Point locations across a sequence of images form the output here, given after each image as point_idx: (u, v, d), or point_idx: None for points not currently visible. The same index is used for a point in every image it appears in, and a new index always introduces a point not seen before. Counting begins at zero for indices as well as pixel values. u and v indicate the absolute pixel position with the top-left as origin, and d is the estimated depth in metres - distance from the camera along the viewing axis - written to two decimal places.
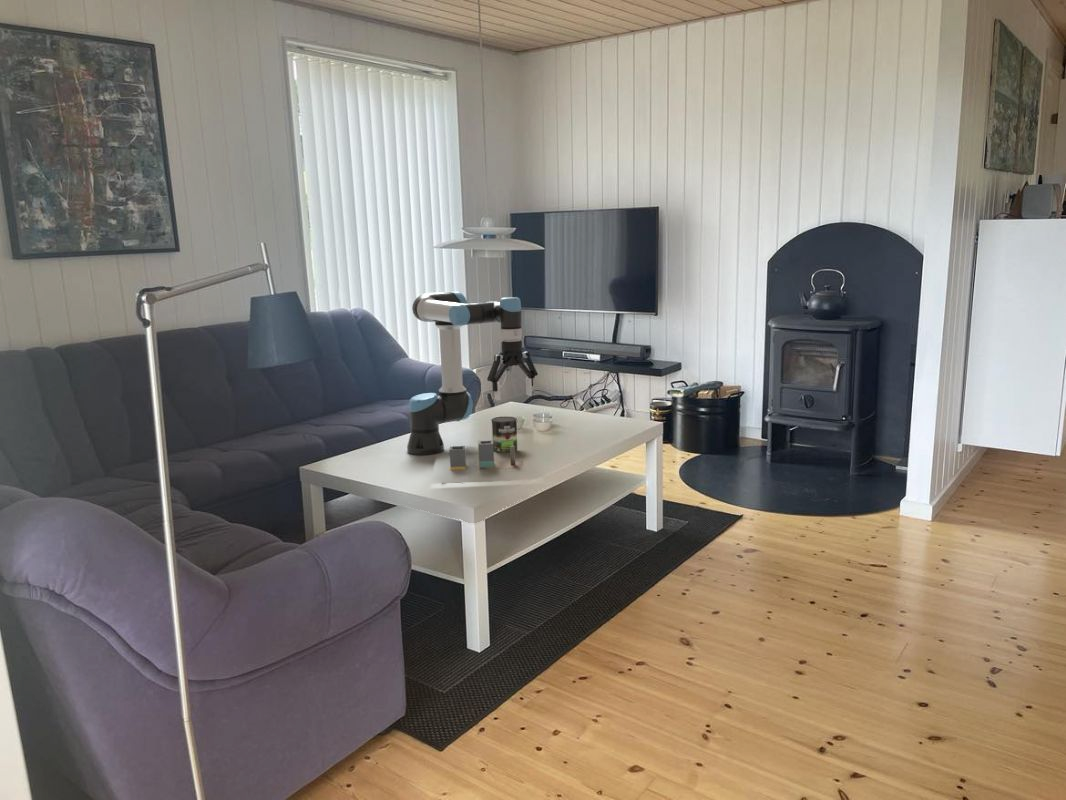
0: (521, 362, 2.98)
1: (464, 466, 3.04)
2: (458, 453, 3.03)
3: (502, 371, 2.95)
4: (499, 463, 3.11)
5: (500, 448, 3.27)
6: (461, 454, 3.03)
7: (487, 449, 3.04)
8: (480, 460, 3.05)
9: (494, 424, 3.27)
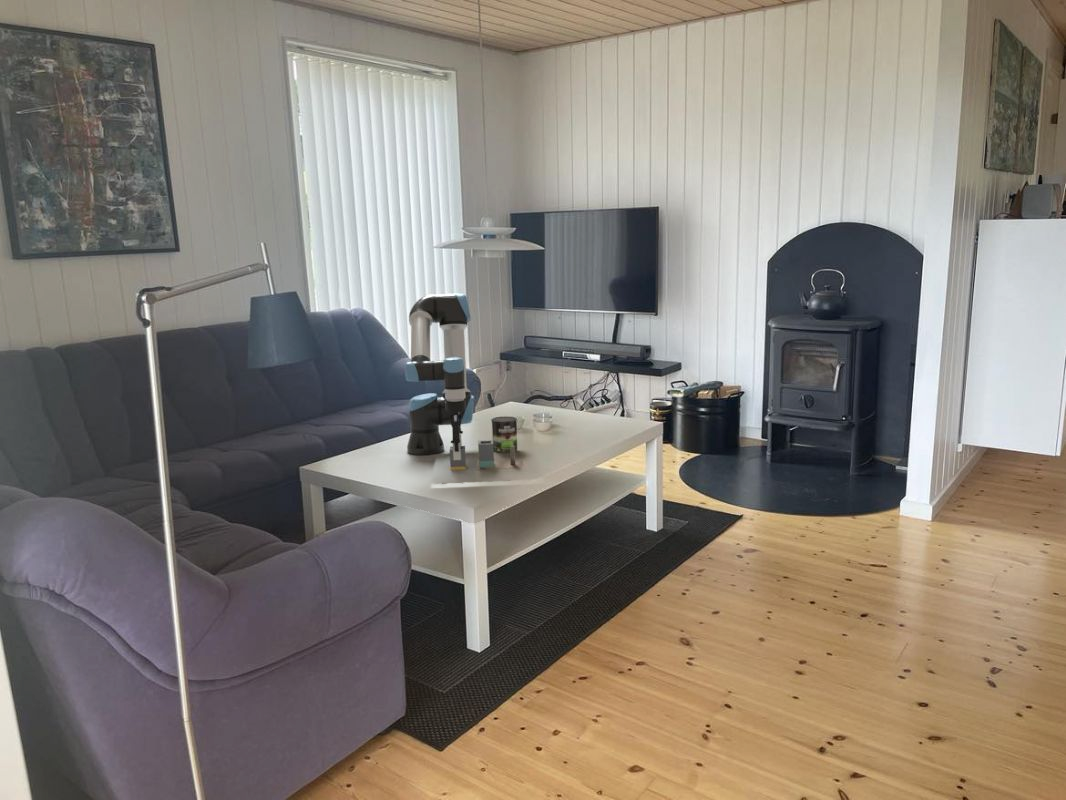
0: (451, 423, 3.00)
1: (464, 466, 3.04)
2: None
3: None
4: (499, 463, 3.11)
5: (500, 448, 3.27)
6: (461, 454, 3.03)
7: (487, 449, 3.04)
8: (480, 460, 3.05)
9: (494, 424, 3.27)
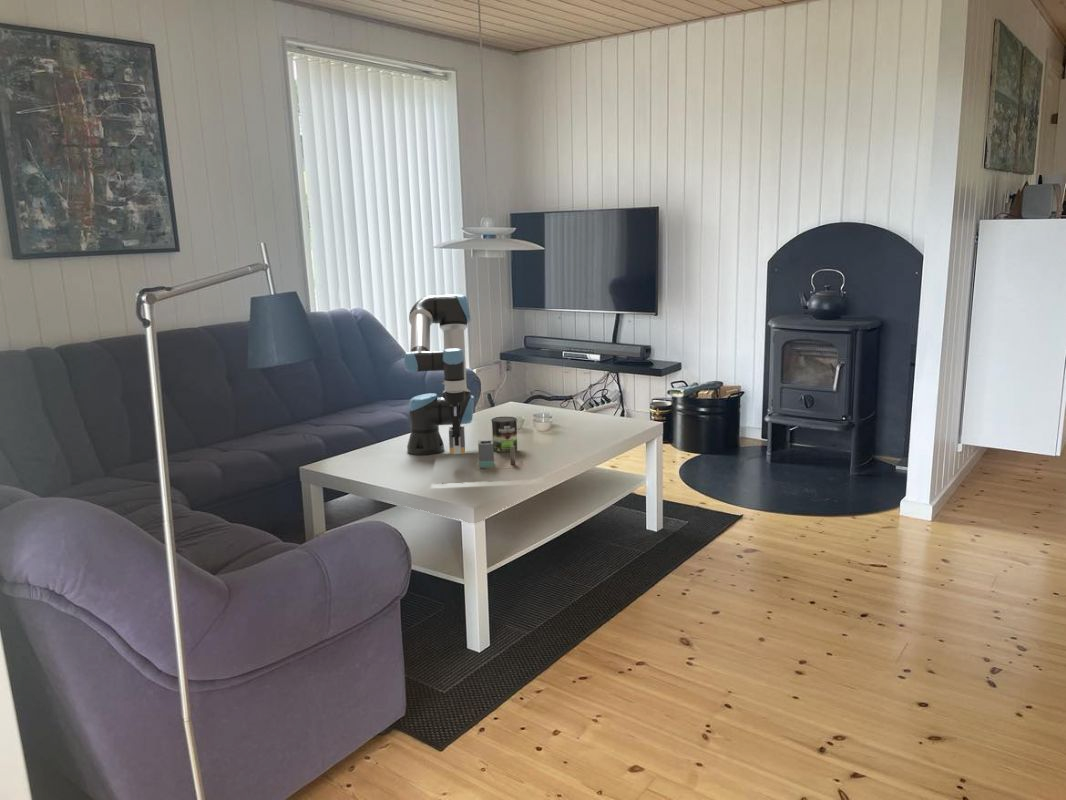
0: (451, 415, 3.01)
1: (463, 447, 3.03)
2: None
3: None
4: (499, 463, 3.11)
5: (500, 448, 3.27)
6: (460, 435, 3.02)
7: (487, 449, 3.04)
8: (480, 460, 3.05)
9: (494, 424, 3.27)
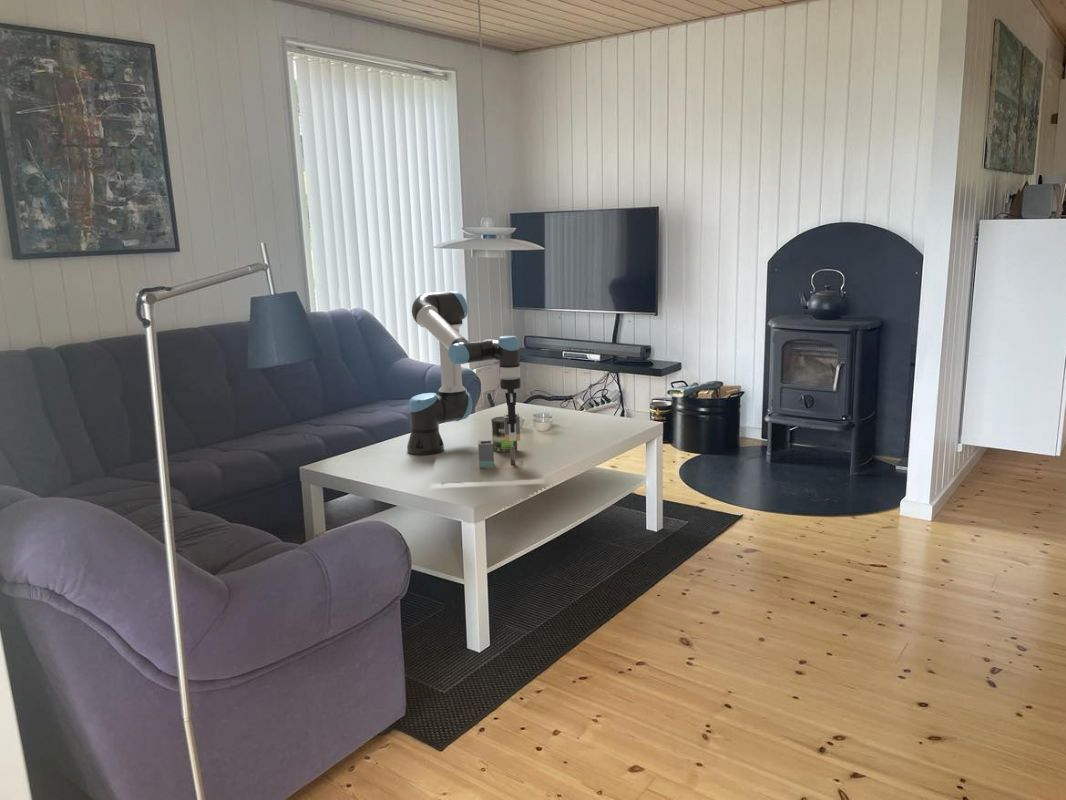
0: (506, 402, 3.02)
1: (519, 434, 3.04)
2: None
3: None
4: (499, 463, 3.11)
5: (500, 448, 3.27)
6: None
7: (487, 449, 3.04)
8: (480, 460, 3.05)
9: (494, 424, 3.27)
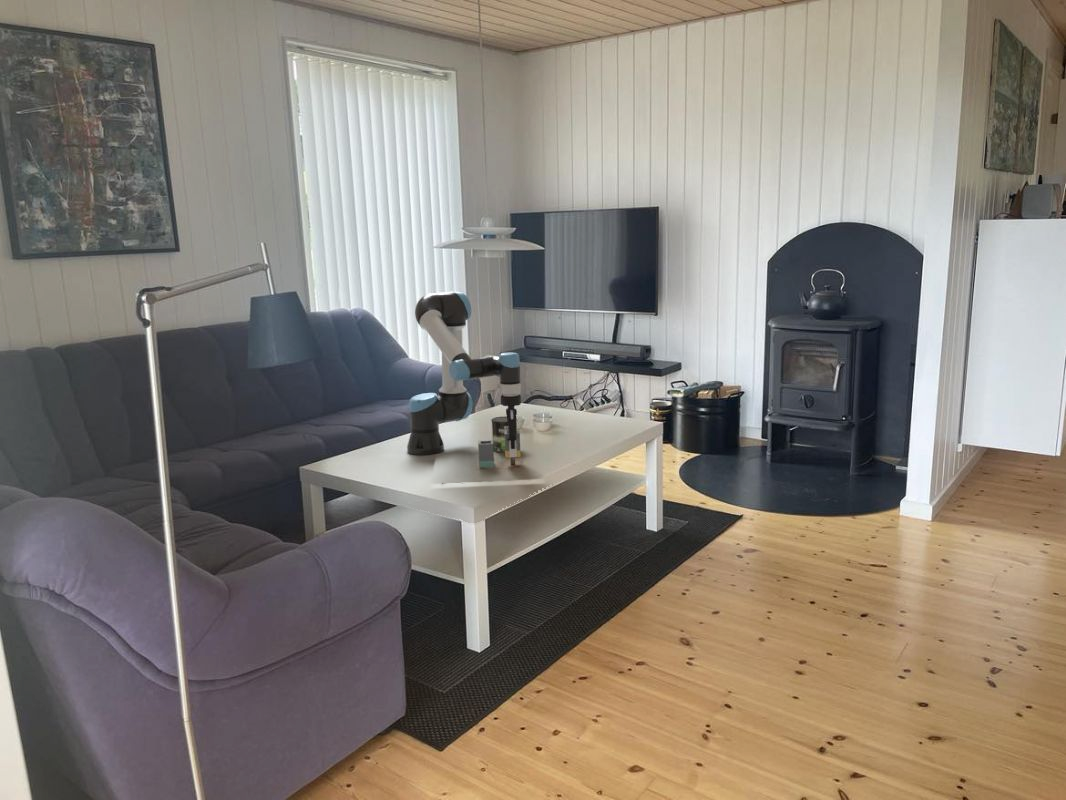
0: (507, 418, 3.03)
1: (519, 450, 3.05)
2: None
3: (508, 424, 3.09)
4: (499, 463, 3.11)
5: (500, 448, 3.27)
6: None
7: (487, 449, 3.04)
8: (480, 460, 3.05)
9: (494, 424, 3.27)
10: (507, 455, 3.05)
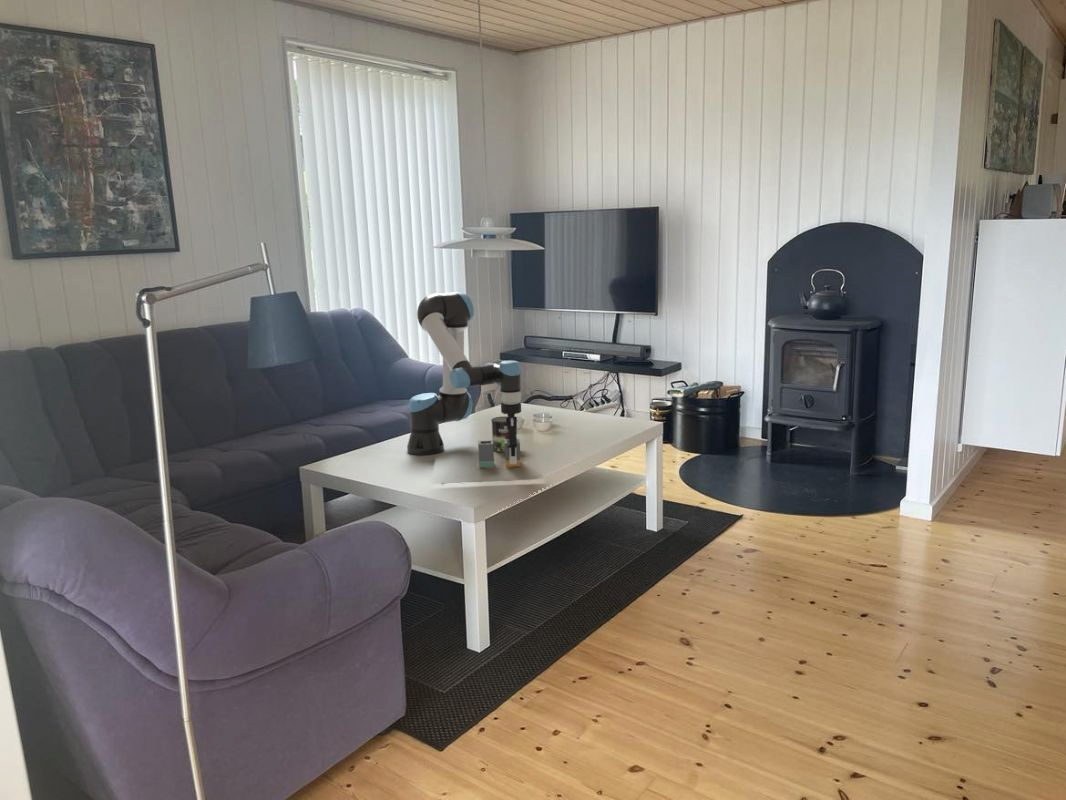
0: (507, 426, 3.04)
1: (519, 459, 3.06)
2: None
3: (508, 430, 3.10)
4: (499, 463, 3.11)
5: (500, 448, 3.27)
6: (516, 448, 3.05)
7: (487, 449, 3.04)
8: (480, 460, 3.05)
9: (494, 424, 3.27)
10: (507, 464, 3.06)
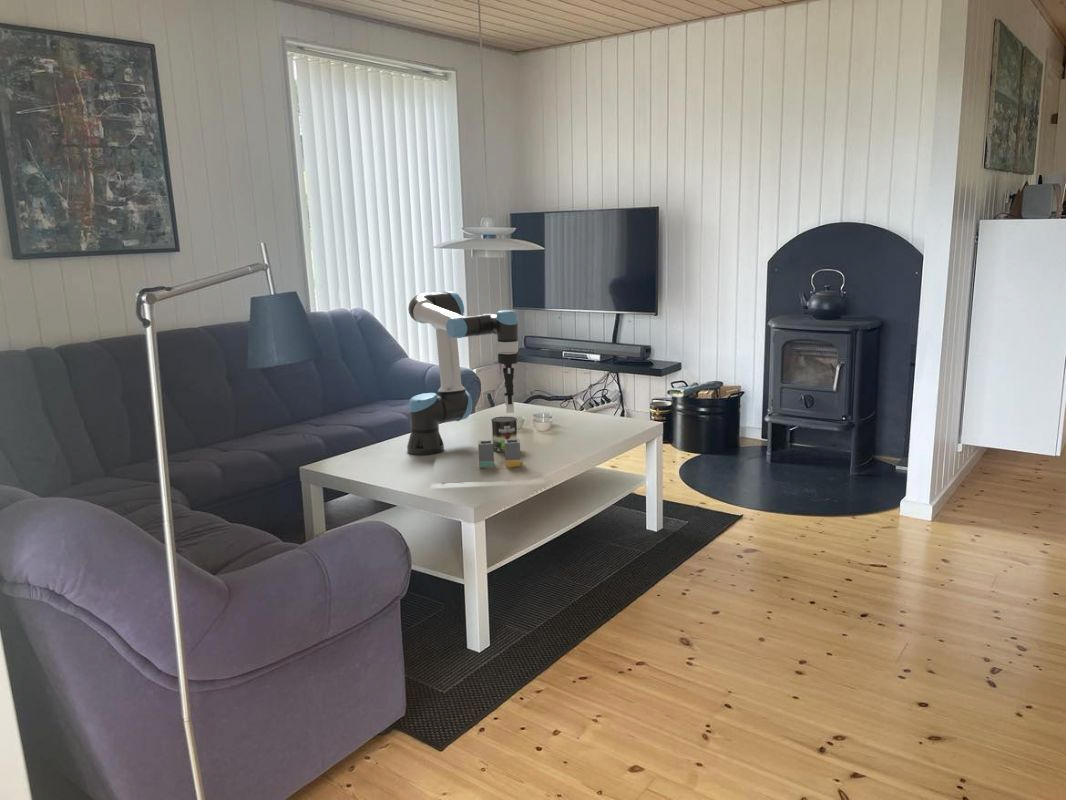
0: (504, 376, 3.00)
1: (519, 459, 3.06)
2: (513, 446, 3.05)
3: (505, 379, 3.08)
4: (499, 463, 3.11)
5: (500, 448, 3.27)
6: (516, 448, 3.05)
7: (487, 449, 3.04)
8: (480, 460, 3.05)
9: (494, 424, 3.27)
10: (507, 464, 3.06)
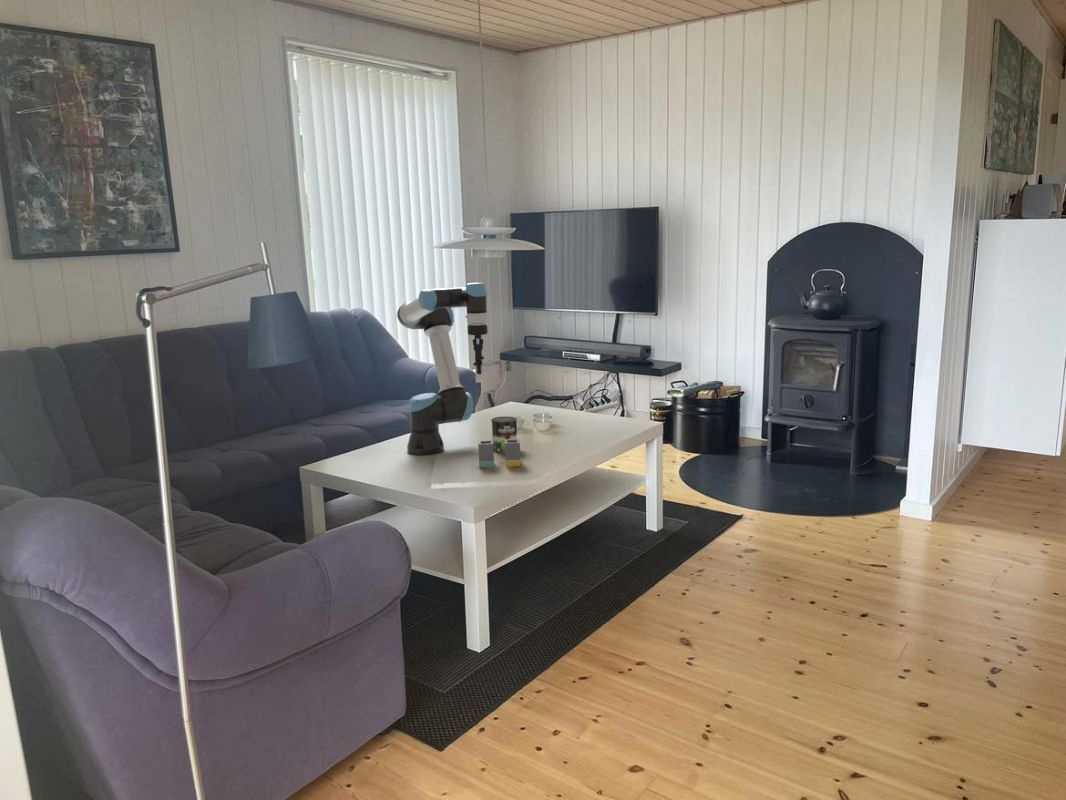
0: None
1: (519, 459, 3.06)
2: (513, 446, 3.05)
3: None
4: (499, 463, 3.11)
5: (500, 448, 3.27)
6: (516, 448, 3.05)
7: (487, 449, 3.04)
8: (480, 460, 3.05)
9: (494, 424, 3.27)
10: (507, 464, 3.06)
